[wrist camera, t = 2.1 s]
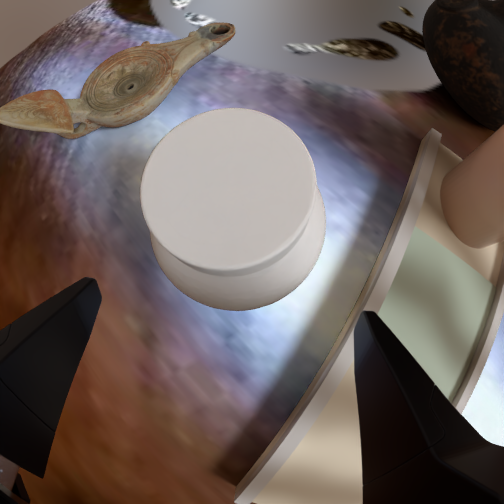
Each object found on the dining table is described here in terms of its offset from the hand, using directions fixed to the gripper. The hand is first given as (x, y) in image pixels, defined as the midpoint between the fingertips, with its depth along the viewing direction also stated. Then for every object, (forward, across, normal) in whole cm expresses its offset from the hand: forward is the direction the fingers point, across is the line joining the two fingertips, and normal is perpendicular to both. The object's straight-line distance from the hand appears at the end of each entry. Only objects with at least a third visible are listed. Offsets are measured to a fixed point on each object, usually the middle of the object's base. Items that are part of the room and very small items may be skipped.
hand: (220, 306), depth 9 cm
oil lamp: (+20, +11, -4) cm, 23 cm away
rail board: (+6, -13, +9) cm, 17 cm away
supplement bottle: (+10, 0, +5) cm, 11 cm away
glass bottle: (+26, -24, -10) cm, 36 cm away
